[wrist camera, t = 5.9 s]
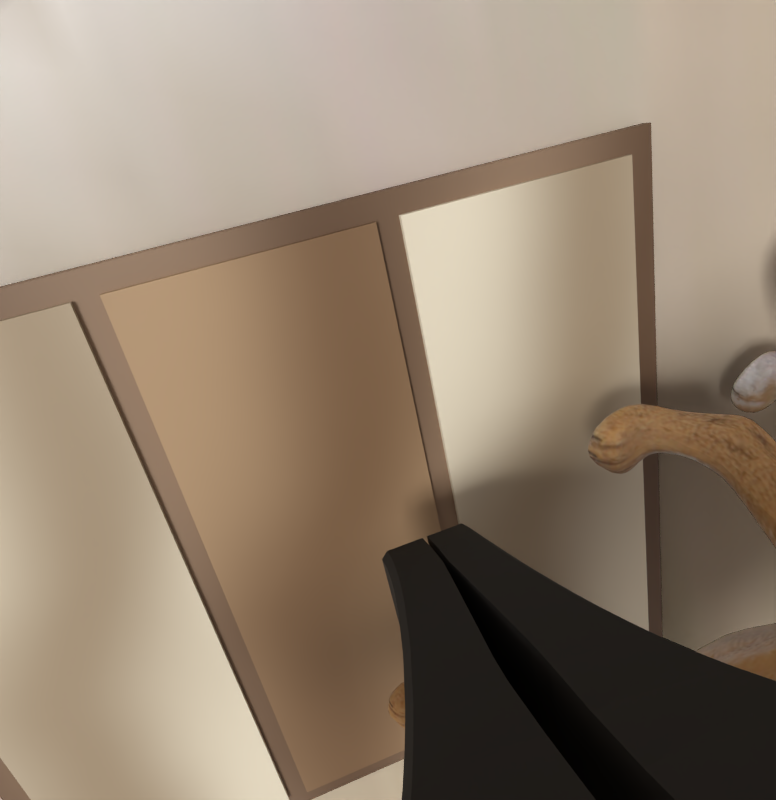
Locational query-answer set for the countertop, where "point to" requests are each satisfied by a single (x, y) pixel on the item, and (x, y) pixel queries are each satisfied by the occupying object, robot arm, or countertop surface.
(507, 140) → the countertop surface
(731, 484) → the lion figurine
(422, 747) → the robot arm
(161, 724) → the brown framed panel
